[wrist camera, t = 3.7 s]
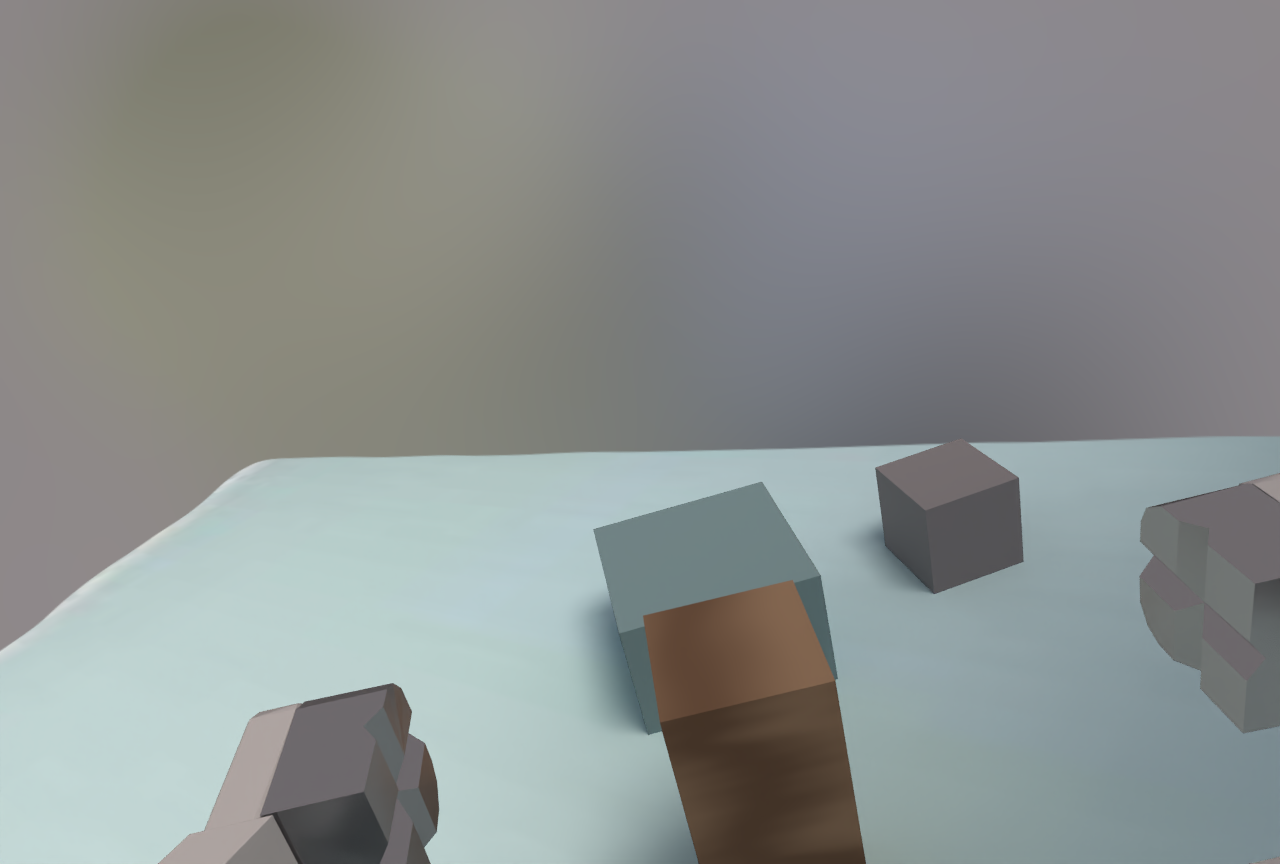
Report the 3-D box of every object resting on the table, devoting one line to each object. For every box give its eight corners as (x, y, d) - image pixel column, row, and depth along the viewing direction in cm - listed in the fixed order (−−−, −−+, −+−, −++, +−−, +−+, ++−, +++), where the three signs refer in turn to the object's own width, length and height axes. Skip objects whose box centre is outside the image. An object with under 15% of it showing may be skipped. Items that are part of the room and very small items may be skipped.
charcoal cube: (967, 517, 53) (961, 438, 51) (1023, 562, 48) (1018, 477, 46) (885, 546, 52) (875, 467, 50) (934, 595, 48) (925, 510, 45)
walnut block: (839, 836, 36) (792, 579, 31) (881, 958, 32) (835, 680, 27) (710, 867, 36) (643, 615, 31) (734, 992, 32) (660, 722, 27)
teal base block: (779, 576, 52) (761, 481, 49) (838, 681, 44) (820, 575, 41) (619, 622, 51) (593, 529, 49) (649, 737, 43) (619, 633, 41)
